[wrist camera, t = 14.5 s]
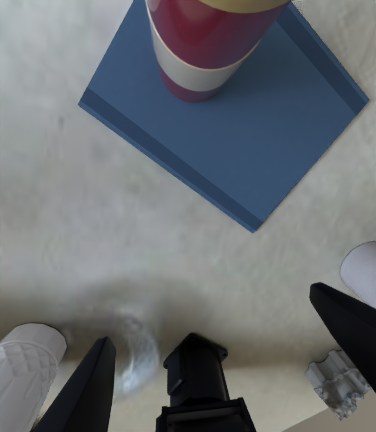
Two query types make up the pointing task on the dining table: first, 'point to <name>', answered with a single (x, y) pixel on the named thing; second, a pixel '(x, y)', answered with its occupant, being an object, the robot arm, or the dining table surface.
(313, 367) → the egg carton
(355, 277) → the coffee cup
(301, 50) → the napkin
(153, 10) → the jam jar
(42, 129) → the dining table surface
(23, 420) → the white cup
